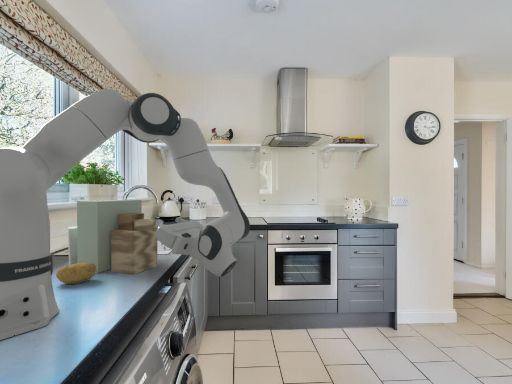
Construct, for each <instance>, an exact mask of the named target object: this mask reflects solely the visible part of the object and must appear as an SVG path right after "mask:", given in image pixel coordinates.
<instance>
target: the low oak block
mask: <svg viewBox="0 0 512 384" xmlns="http://www.w3.org/2000/svg"><path fill="white" fill-rule="evenodd" d="M155 233H156V231H152V232H150V231H137V230H133V231H129V230H112V231H111V269H110V270H111V272H116V273H120V274H121V273H122V274H126V275H127V274H128V275H136V274H138V273H141V272H143V271H147V270H151V269H154V268H157V267H158V265H159V264H158V256H159V255H158V239H157V238H156V237H155Z"/></svg>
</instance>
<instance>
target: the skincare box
mask: <svg viewBox="0 0 512 384" xmlns="http://www.w3.org/2000/svg"><path fill="white" fill-rule="evenodd" d="M67 239H68V240H67V243H68V244H67V245H68V246H67V247H68V248H67V249H68V265H72V264H76V263H77V225H76V226H68V227H67Z"/></svg>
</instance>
